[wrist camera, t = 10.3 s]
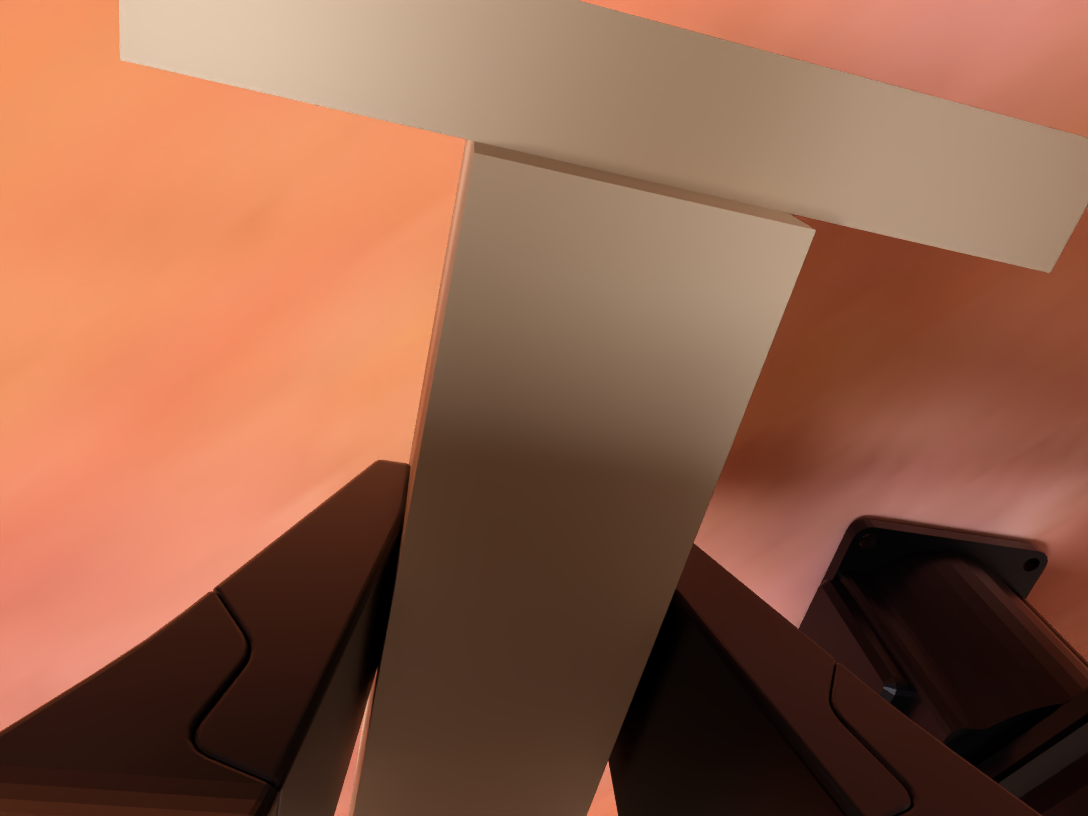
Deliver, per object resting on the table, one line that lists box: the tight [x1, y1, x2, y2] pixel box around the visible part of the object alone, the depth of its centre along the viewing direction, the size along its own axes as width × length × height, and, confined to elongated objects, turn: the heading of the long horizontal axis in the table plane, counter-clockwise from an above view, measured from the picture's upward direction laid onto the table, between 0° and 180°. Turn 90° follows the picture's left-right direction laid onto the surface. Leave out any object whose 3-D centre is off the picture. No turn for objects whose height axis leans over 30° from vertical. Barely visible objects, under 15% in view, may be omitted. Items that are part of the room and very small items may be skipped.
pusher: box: [119, 0, 1088, 816], centre depth 9 cm, size 7×11×4 cm, turn 167°
